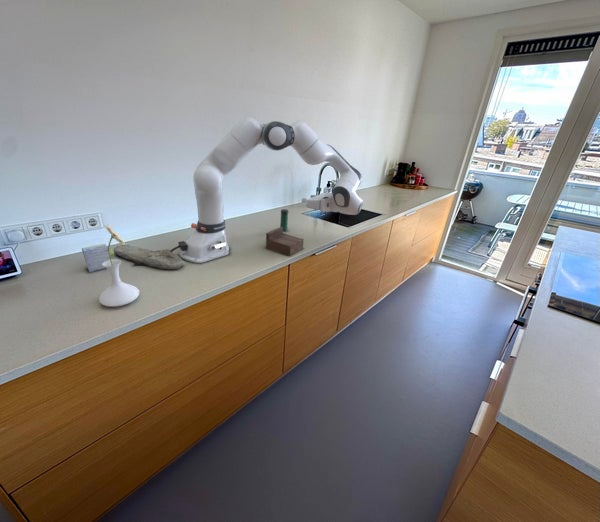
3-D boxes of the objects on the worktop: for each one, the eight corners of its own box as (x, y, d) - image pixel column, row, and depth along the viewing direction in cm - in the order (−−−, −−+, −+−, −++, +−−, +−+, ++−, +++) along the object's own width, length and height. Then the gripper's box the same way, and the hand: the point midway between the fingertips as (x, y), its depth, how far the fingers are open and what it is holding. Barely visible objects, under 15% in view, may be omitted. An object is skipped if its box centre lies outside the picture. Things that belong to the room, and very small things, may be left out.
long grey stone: (128, 250, 131) (108, 259, 123) (125, 239, 129) (104, 248, 120) (190, 262, 120) (173, 274, 112) (188, 251, 118) (170, 262, 109)
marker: (284, 232, 163) (285, 211, 157) (278, 230, 164) (279, 210, 159) (288, 230, 166) (289, 210, 161) (282, 228, 168) (283, 208, 162)
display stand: (289, 256, 134) (290, 240, 131) (265, 248, 141) (266, 233, 137) (302, 248, 144) (304, 233, 140) (280, 241, 150) (280, 226, 146)
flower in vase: (136, 308, 91) (120, 234, 81) (95, 312, 88) (72, 236, 77) (144, 287, 103) (130, 220, 92) (107, 290, 99) (89, 221, 88)
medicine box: (110, 262, 117) (105, 243, 113) (113, 266, 114) (108, 246, 110) (87, 268, 112) (81, 247, 108) (89, 272, 109) (83, 251, 105)
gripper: (339, 192, 151) (316, 188, 157) (322, 199, 135) (297, 195, 141) (338, 204, 154) (315, 200, 160) (321, 212, 138) (296, 208, 144)
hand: (306, 198), depth 150 cm, fingers open, 8 cm apart
